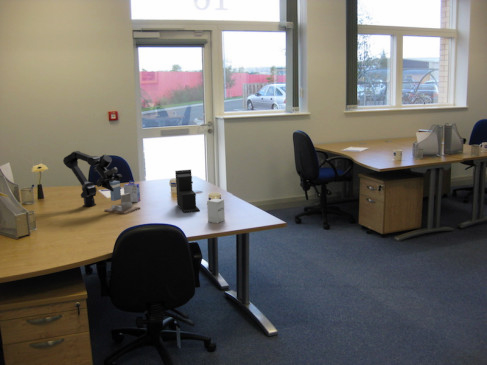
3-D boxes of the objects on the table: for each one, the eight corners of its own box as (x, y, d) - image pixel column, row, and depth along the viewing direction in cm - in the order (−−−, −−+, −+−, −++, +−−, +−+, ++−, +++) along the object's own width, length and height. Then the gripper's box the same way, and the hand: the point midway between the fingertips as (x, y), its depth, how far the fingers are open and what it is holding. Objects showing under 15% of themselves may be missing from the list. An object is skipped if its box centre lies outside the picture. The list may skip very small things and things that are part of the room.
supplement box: (218, 223, 267) (217, 202, 265) (207, 221, 271) (206, 200, 269) (225, 220, 274) (224, 199, 271) (214, 218, 277) (214, 198, 275)
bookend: (200, 211, 295) (198, 175, 290) (183, 213, 292) (181, 176, 287) (192, 203, 317) (190, 169, 312) (176, 204, 313) (174, 170, 309)
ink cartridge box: (140, 200, 329) (139, 180, 326) (138, 202, 323) (136, 181, 321) (127, 200, 330) (125, 180, 327) (124, 202, 325) (122, 182, 322)
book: (110, 200, 302) (109, 182, 299) (117, 198, 307) (116, 180, 304) (114, 201, 300) (112, 182, 298) (121, 198, 305) (119, 181, 303)
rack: (104, 211, 302) (102, 194, 300) (119, 206, 314) (118, 190, 312) (125, 214, 294) (123, 197, 291) (140, 208, 306) (138, 192, 303)
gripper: (97, 166, 293) (111, 185, 290) (119, 161, 309) (132, 179, 305) (90, 177, 299) (103, 196, 295) (112, 172, 314) (125, 190, 311)
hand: (116, 190), depth 302 cm, fingers closed on book, 6 cm apart
